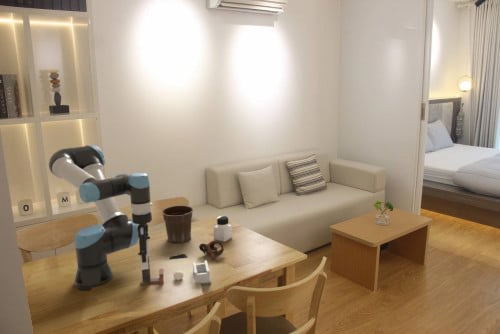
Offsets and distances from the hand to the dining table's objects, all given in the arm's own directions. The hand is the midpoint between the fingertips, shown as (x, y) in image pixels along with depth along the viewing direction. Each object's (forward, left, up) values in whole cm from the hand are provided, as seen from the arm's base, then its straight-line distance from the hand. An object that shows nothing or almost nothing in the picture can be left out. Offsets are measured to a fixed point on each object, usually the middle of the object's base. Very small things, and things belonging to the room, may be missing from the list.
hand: (145, 261), depth 163 cm
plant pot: (+15, +47, -11) cm, 51 cm away
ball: (+13, 0, -8) cm, 15 cm away
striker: (+2, 0, -10) cm, 10 cm away
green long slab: (+10, 0, -11) cm, 15 cm away
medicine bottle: (+38, +42, -11) cm, 58 cm away
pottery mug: (+29, +23, -11) cm, 39 cm away
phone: (+15, +18, -11) cm, 26 cm away
